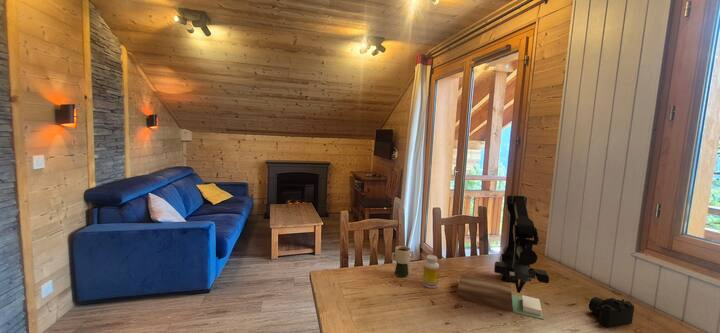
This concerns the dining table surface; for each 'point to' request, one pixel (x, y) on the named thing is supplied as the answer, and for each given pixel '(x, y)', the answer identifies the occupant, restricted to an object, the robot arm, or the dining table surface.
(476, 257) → the dining table surface
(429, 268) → the supplement bottle
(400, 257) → the character mug
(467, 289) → the deck
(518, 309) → the mat
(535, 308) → the white rectangular block
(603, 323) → the film camera
